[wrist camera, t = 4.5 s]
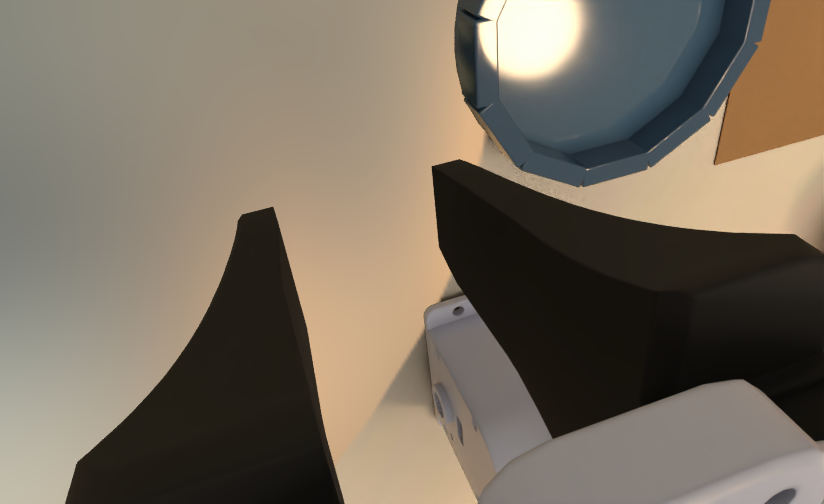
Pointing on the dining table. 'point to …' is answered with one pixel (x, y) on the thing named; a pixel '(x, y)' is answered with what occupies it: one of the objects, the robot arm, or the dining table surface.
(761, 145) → the placemat
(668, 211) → the dining table surface
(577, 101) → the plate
